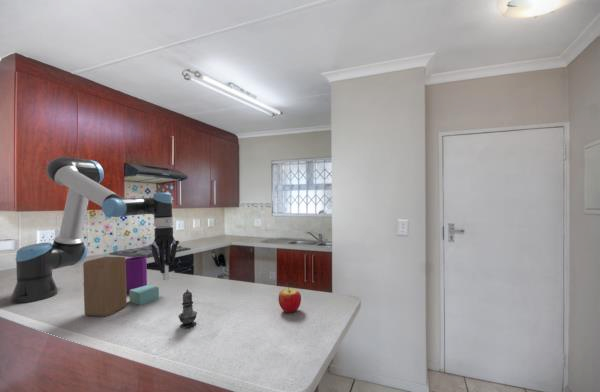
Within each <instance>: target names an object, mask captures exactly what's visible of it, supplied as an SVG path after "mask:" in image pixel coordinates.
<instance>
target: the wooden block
mask: <svg viewBox="0 0 600 392" xmlns="http://www.w3.org/2000/svg"><path fill="white" fill-rule="evenodd" d="M126 259H127V258H126V257H125V256H103V257H98V258H95V259H90V260H86V261H84V262H83V265H82V266H83V303H84V306H83V307H84V308H83V309H84V310H83V311H84V313H83V314H84V315H85V316H95V317H96V316H97V317H98V316H99V317H108V316H110V315H112V314H114V313H116V312H118V311H120V310H122V309H125V308H126V307H127V303H128V302H127V300H128V299H127V293H126Z"/></svg>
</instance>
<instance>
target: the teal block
mask: <svg viewBox="0 0 600 392" xmlns="http://www.w3.org/2000/svg"><path fill="white" fill-rule="evenodd" d="M128 294H129V302H131V303H133V304H136V305H138V306H141V305H144V304H147V303H150V302H153V301H156V300H159V299H160V289H159V287H158V286H155V285H150V284H147V285H146V286H142V287H139V288H135V289H131V290H129V293H128Z"/></svg>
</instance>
